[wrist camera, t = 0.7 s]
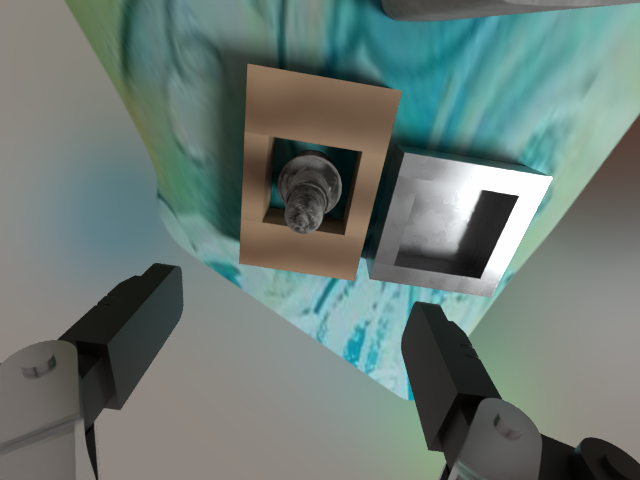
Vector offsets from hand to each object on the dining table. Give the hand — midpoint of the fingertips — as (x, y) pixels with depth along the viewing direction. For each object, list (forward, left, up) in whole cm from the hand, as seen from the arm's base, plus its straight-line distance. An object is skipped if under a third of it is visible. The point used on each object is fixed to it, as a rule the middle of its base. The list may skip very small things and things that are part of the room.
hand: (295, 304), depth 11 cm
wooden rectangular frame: (+2, 0, -22) cm, 22 cm away
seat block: (+4, +14, -22) cm, 26 cm away
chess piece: (+2, 0, -23) cm, 23 cm away
